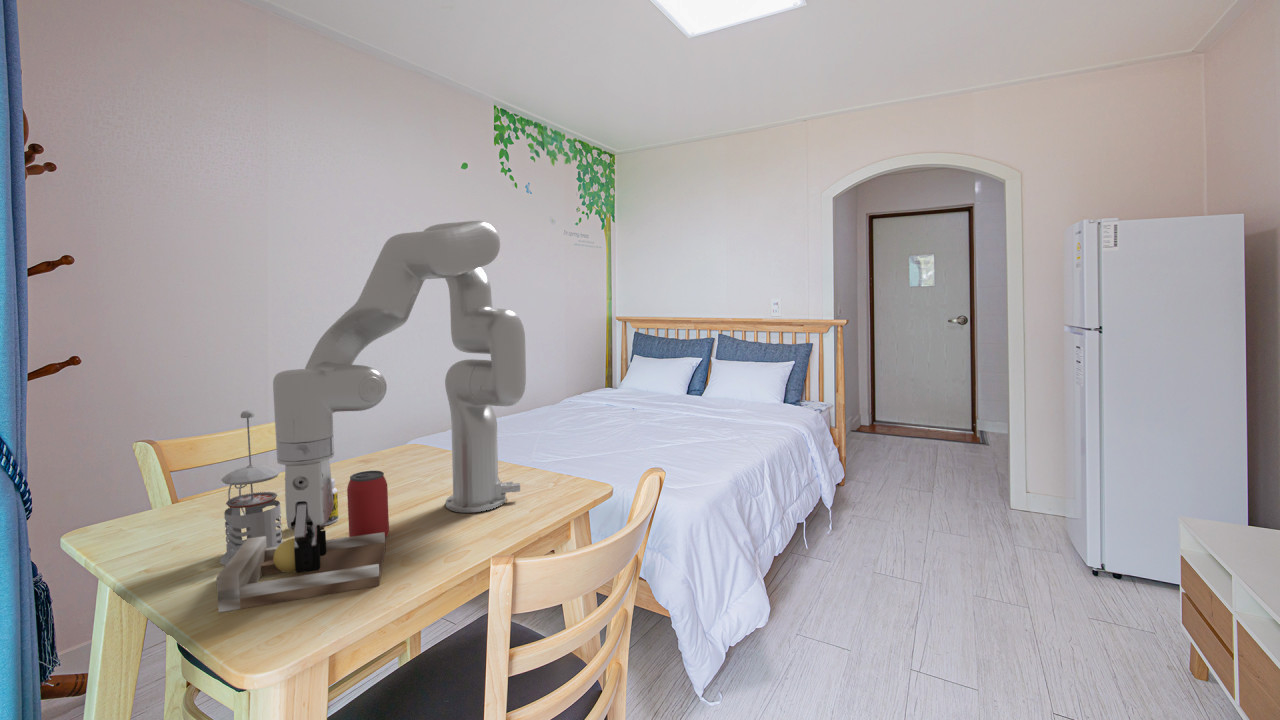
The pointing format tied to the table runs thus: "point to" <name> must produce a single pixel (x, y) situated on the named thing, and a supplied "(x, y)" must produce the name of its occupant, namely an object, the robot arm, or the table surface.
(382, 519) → the beer can
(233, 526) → the french press
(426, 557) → the table surface
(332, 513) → the supplement bottle
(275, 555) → the ball
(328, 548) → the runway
